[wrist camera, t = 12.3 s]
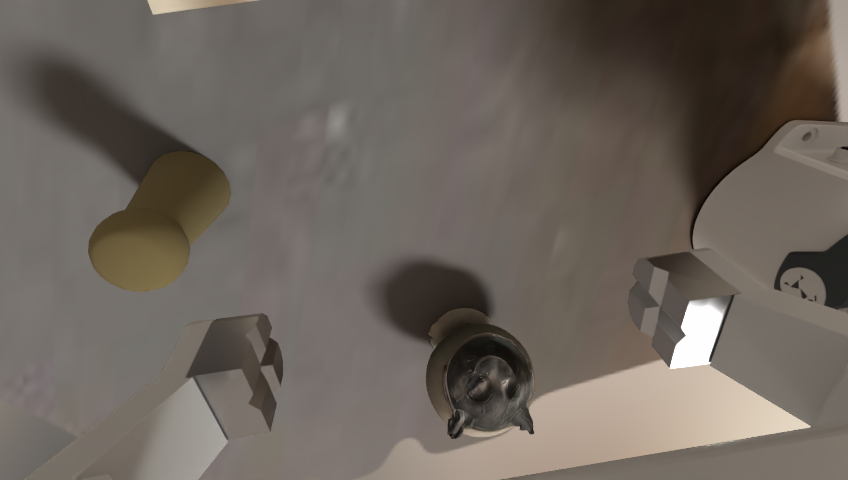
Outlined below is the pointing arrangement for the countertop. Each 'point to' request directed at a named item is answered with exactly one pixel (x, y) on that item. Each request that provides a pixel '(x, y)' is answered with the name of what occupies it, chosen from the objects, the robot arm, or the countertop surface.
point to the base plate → (186, 4)
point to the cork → (160, 222)
